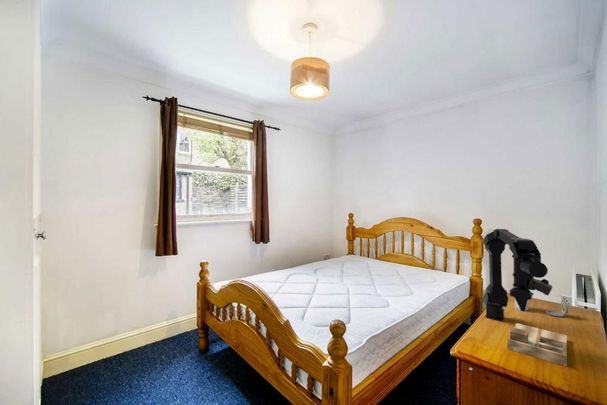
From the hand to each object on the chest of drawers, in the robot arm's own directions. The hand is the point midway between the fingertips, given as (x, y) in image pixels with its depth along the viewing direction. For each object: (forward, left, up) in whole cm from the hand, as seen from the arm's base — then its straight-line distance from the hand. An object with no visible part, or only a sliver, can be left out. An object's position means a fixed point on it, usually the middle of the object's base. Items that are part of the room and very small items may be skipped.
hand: (523, 311), depth 105 cm
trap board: (+4, +4, -13) cm, 14 cm away
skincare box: (-5, +46, -13) cm, 48 cm away
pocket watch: (+9, +48, -13) cm, 51 cm away
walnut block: (-1, -4, -11) cm, 12 cm away
